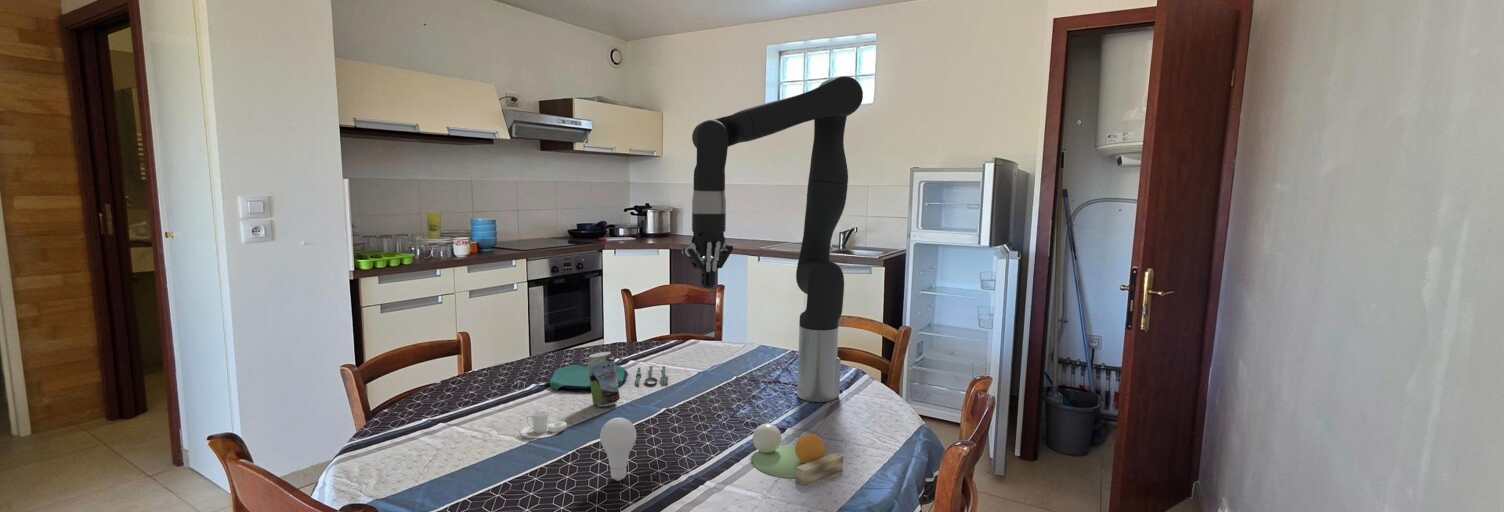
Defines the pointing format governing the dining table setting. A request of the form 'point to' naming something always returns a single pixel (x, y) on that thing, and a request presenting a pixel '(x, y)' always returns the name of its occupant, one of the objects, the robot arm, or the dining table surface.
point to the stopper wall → (819, 468)
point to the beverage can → (603, 379)
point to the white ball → (767, 438)
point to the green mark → (778, 462)
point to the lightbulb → (618, 444)
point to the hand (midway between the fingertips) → (708, 287)
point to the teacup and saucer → (542, 425)
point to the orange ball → (809, 448)
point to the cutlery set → (580, 379)
